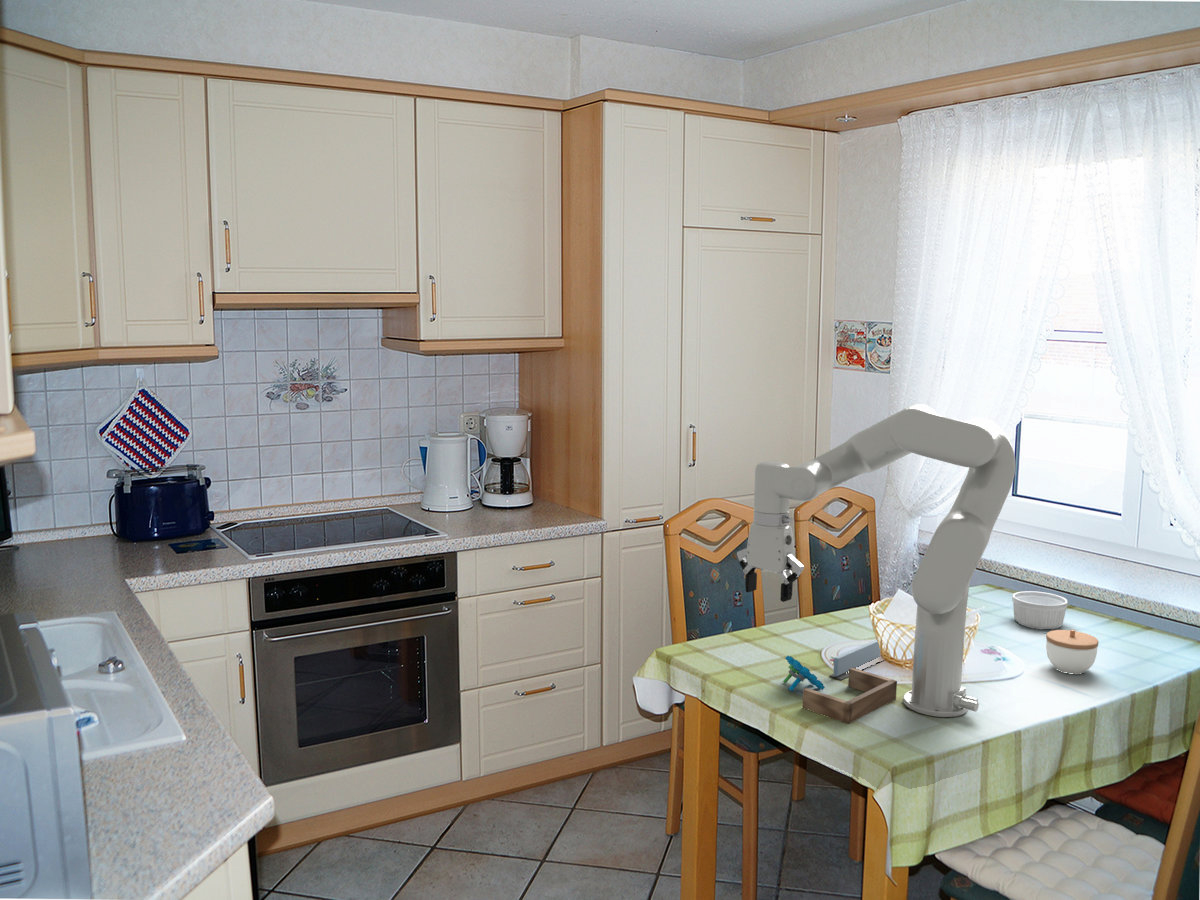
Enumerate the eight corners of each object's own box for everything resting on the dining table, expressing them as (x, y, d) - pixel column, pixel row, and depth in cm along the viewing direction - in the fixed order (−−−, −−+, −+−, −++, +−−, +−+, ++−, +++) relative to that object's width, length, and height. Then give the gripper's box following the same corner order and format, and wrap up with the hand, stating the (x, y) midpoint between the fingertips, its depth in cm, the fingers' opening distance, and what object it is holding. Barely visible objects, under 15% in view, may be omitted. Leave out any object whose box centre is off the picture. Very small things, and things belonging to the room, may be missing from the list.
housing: (941, 675, 224) (942, 658, 224) (848, 724, 198) (849, 704, 197) (874, 656, 236) (875, 640, 235) (778, 699, 210) (778, 681, 209)
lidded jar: (1049, 658, 236) (1052, 619, 235) (1099, 668, 230) (1103, 628, 229) (1039, 671, 227) (1042, 631, 226) (1091, 682, 221) (1094, 641, 220)
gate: (880, 656, 234) (880, 640, 233) (837, 676, 221) (838, 658, 221) (876, 655, 235) (877, 639, 234) (833, 674, 222) (834, 657, 221)
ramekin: (1001, 616, 268) (1002, 591, 267) (1048, 615, 269) (1049, 590, 268) (1027, 632, 255) (1029, 605, 254) (1076, 631, 256) (1078, 604, 255)
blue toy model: (834, 689, 211) (801, 658, 209) (815, 711, 210) (783, 680, 208) (811, 677, 222) (781, 648, 220) (794, 698, 221) (763, 668, 219)
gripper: (814, 522, 215) (811, 601, 217) (749, 510, 227) (747, 584, 229) (794, 528, 209) (790, 608, 212) (728, 514, 222) (726, 590, 224)
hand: (768, 595), depth 221 cm, fingers open, 9 cm apart
